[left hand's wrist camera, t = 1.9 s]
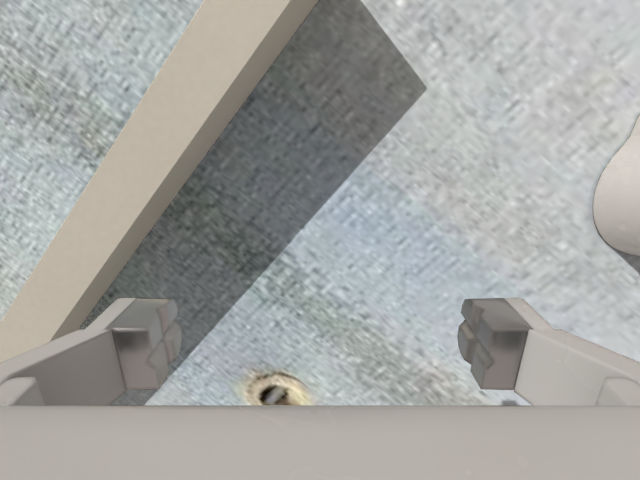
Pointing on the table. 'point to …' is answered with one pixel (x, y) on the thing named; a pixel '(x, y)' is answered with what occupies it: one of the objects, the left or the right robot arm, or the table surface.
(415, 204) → the table surface
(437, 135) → the table surface
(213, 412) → the left robot arm
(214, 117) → the beam
